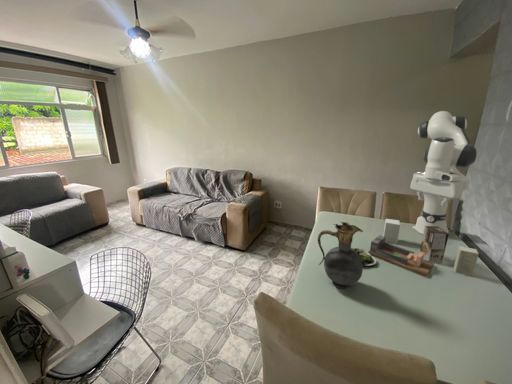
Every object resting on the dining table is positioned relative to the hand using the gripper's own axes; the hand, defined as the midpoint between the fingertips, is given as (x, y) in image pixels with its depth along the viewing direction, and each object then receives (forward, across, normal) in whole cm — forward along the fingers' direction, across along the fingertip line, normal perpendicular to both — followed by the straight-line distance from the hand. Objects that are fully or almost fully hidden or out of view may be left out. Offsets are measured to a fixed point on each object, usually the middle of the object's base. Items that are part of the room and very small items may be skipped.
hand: (430, 202), depth 102 cm
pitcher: (+33, -1, -49) cm, 59 cm away
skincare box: (+32, +12, +11) cm, 36 cm away
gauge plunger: (+30, +1, -6) cm, 31 cm away
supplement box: (+31, -22, +5) cm, 39 cm away
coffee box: (+32, -1, +10) cm, 33 cm away
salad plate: (+33, -13, -28) cm, 45 cm away
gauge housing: (+32, -5, -8) cm, 33 cm away
